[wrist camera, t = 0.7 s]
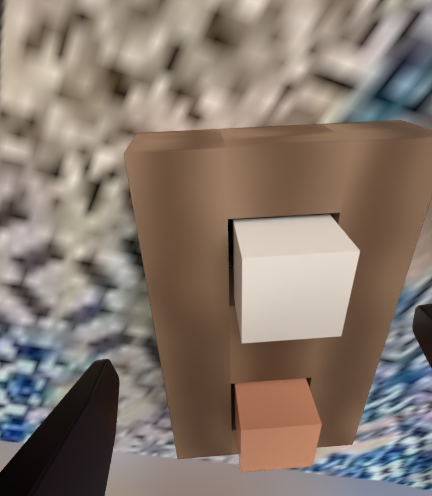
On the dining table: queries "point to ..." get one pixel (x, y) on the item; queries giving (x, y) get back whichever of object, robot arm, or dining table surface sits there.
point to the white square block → (292, 277)
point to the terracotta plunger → (276, 424)
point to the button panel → (221, 274)
